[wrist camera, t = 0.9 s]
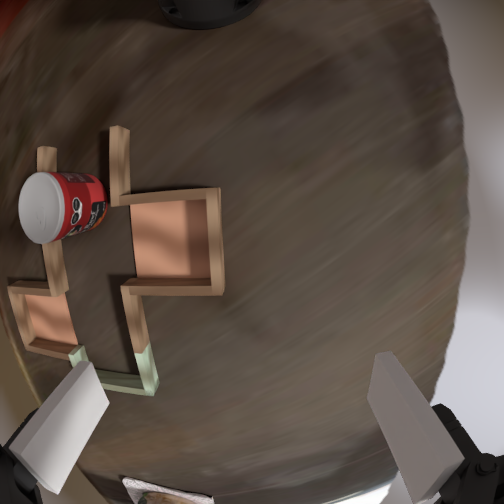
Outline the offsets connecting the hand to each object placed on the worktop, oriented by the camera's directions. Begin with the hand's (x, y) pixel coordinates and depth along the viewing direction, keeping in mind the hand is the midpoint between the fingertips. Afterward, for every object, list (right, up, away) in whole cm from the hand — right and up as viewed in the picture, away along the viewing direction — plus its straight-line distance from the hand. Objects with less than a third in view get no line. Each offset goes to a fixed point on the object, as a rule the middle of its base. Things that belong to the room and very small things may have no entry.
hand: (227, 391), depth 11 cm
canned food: (-22, +13, +23) cm, 34 cm away
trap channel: (-22, +4, +25) cm, 33 cm away
